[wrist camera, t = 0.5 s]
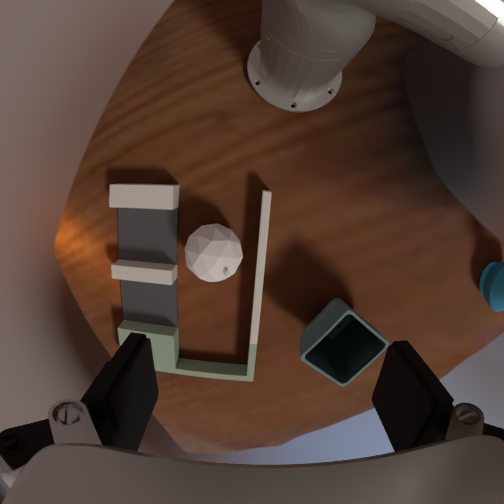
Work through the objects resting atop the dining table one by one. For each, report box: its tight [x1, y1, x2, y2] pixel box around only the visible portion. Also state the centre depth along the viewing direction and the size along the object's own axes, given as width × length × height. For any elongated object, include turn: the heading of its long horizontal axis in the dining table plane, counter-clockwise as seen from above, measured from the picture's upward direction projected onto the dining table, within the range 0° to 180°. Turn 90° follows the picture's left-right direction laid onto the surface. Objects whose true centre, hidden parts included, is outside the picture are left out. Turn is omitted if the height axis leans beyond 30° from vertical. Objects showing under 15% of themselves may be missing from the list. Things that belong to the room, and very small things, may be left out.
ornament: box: [185, 223, 243, 282], centre depth 37 cm, size 7×7×8 cm
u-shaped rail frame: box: [109, 183, 271, 381], centre depth 40 cm, size 28×21×3 cm
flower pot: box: [300, 298, 389, 386], centre depth 39 cm, size 9×9×9 cm
